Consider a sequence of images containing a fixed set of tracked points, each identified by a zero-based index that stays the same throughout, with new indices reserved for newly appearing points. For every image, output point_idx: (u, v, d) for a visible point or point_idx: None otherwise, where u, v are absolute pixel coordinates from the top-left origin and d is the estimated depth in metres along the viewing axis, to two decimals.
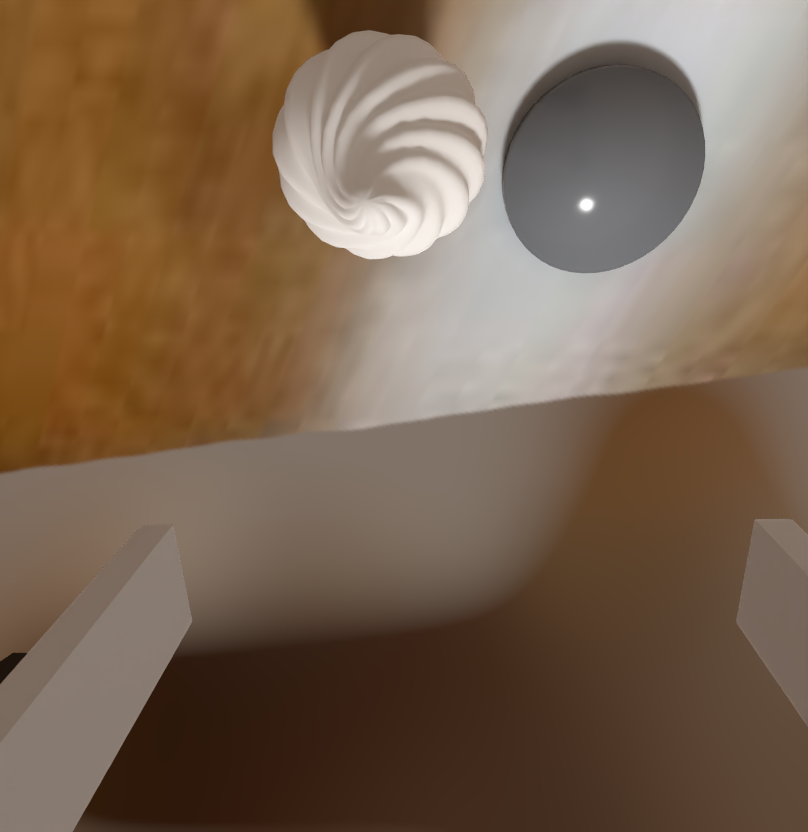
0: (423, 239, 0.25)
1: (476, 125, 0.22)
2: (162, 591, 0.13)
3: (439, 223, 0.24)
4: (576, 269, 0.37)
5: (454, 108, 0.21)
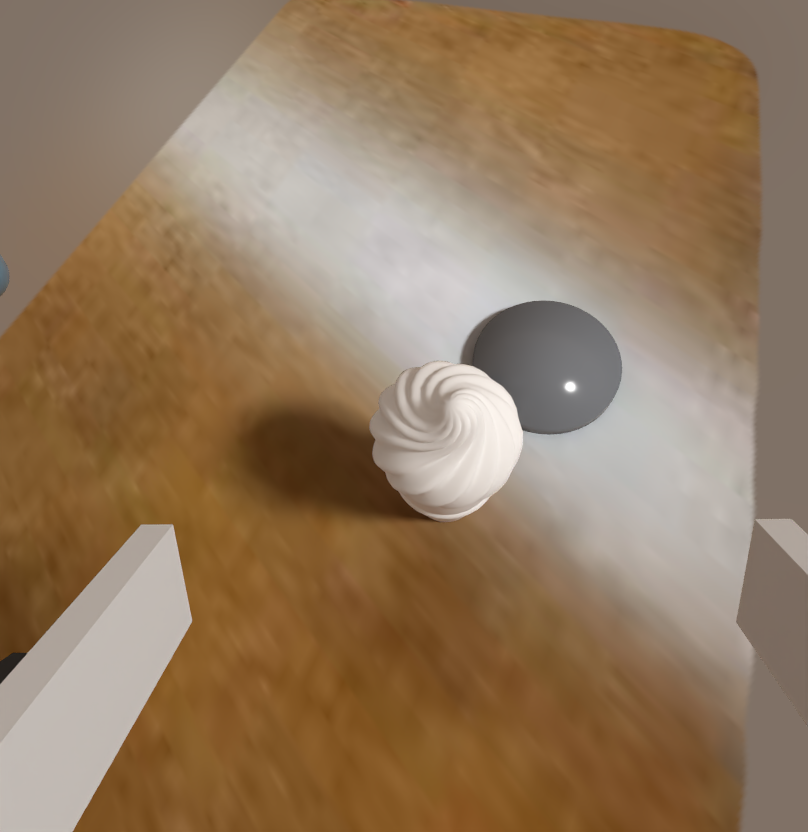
0: (509, 415, 0.32)
1: (448, 364, 0.34)
2: (162, 591, 0.13)
3: (499, 397, 0.32)
4: (613, 391, 0.45)
5: (430, 366, 0.33)
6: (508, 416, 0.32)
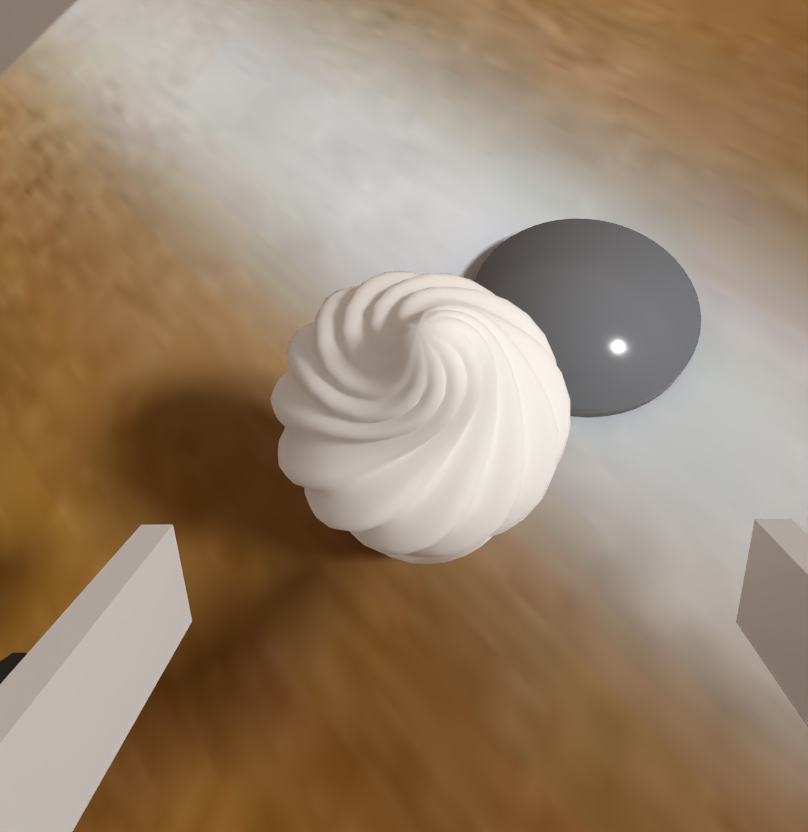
0: (544, 367, 0.16)
1: None
2: (162, 591, 0.13)
3: (523, 332, 0.16)
4: (690, 349, 0.29)
5: (387, 277, 0.17)
6: (543, 369, 0.16)
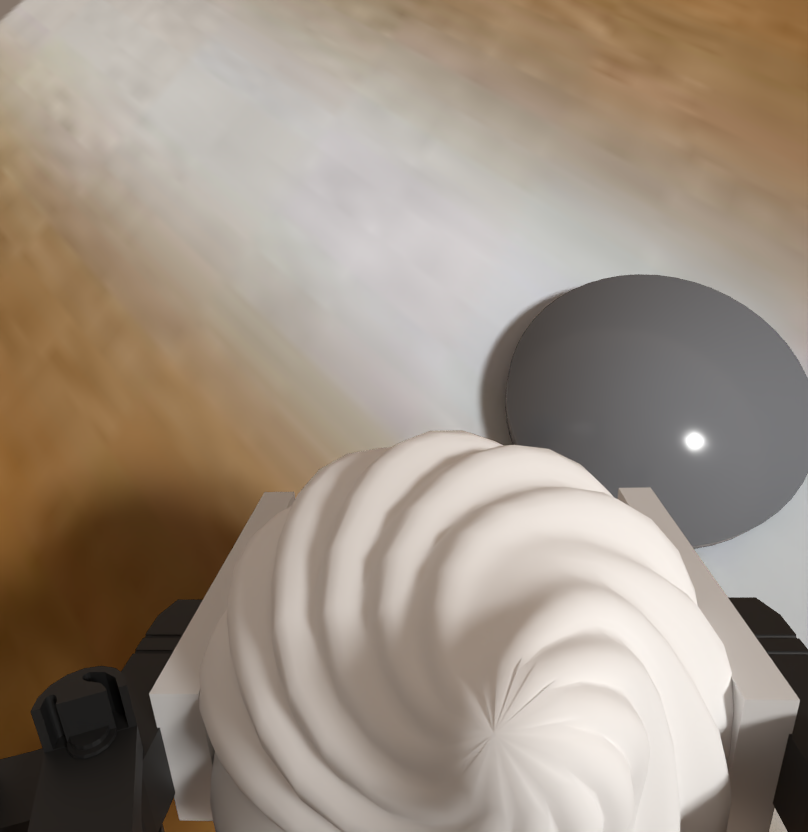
0: (698, 645, 0.09)
1: (467, 443, 0.11)
2: None
3: (660, 580, 0.09)
4: (807, 459, 0.21)
5: (407, 458, 0.10)
6: (696, 650, 0.09)
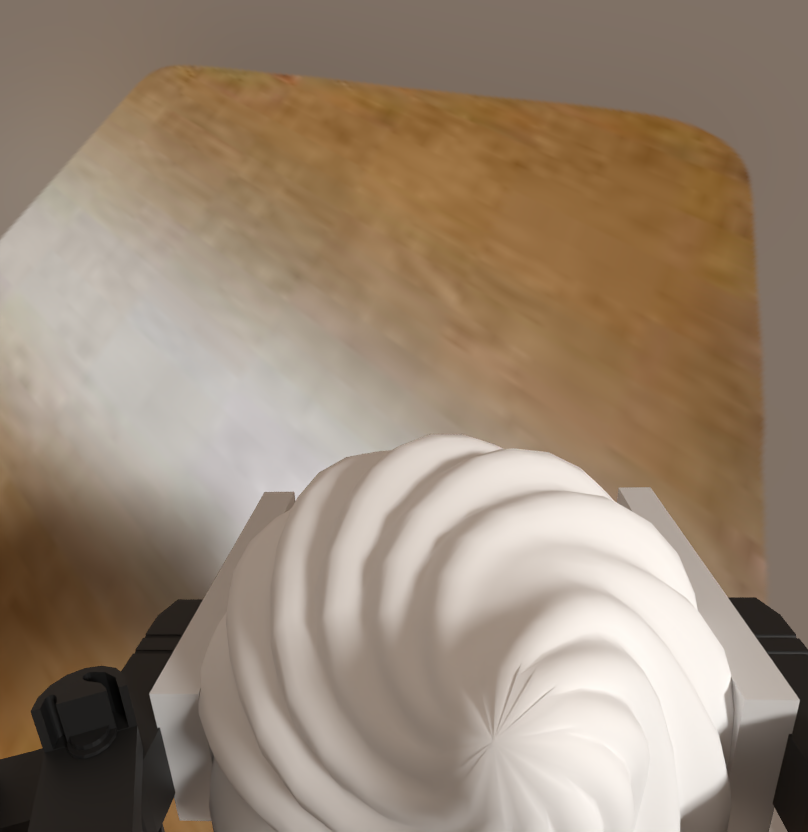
0: (698, 650, 0.09)
1: (466, 446, 0.11)
2: None
3: (660, 584, 0.09)
4: None
5: (406, 462, 0.10)
6: (696, 655, 0.09)
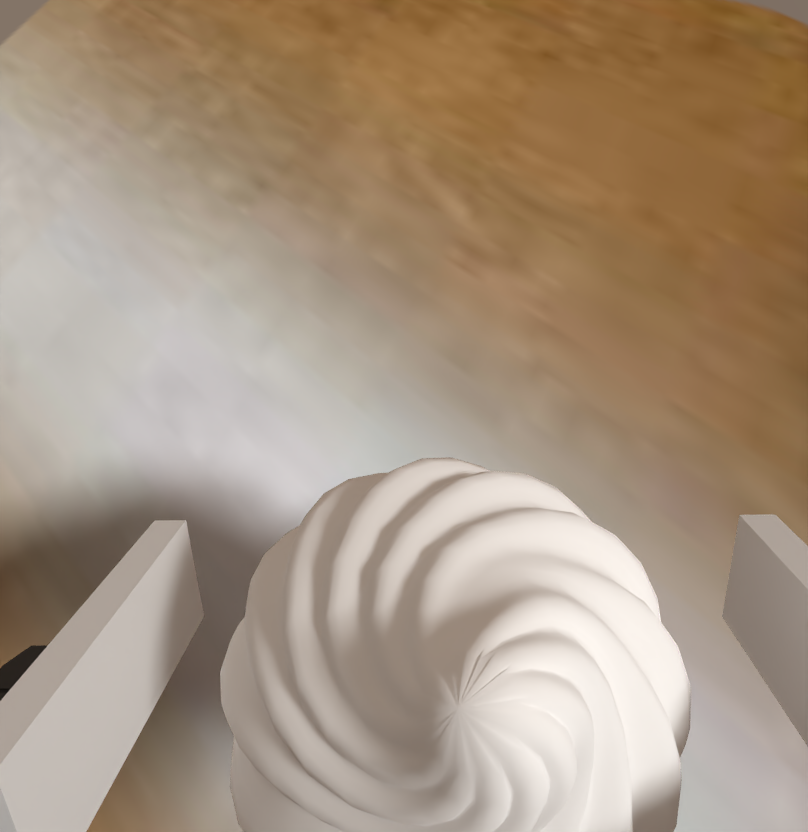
0: (653, 646, 0.10)
1: (454, 469, 0.12)
2: (176, 586, 0.14)
3: (618, 589, 0.10)
4: None
5: (400, 483, 0.11)
6: (651, 650, 0.10)
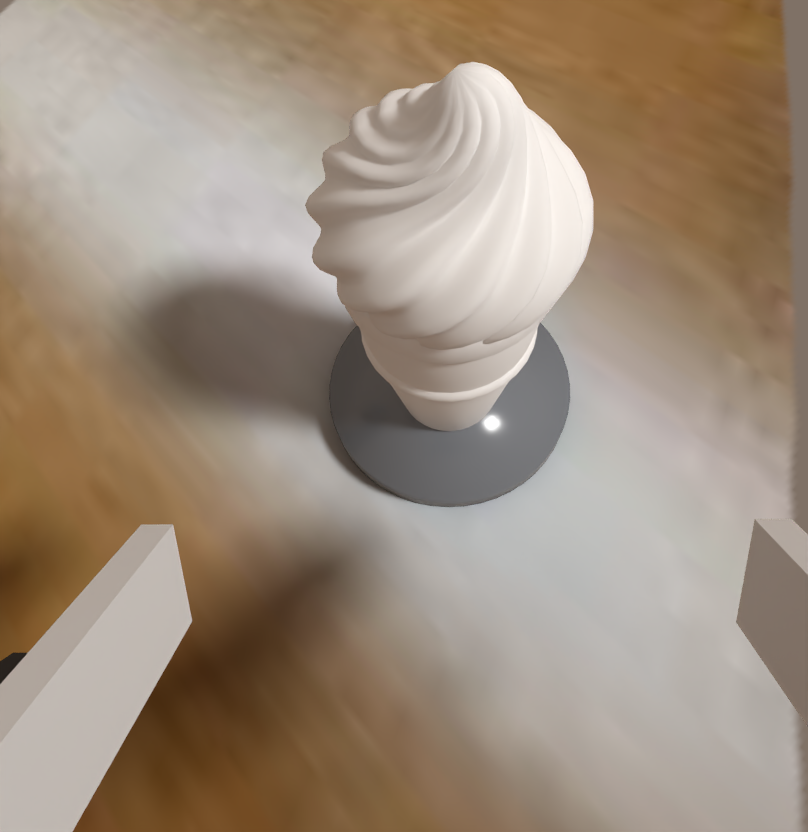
0: (568, 163, 0.17)
1: None
2: (162, 591, 0.13)
3: (549, 130, 0.17)
4: (555, 435, 0.27)
5: None
6: (567, 165, 0.17)
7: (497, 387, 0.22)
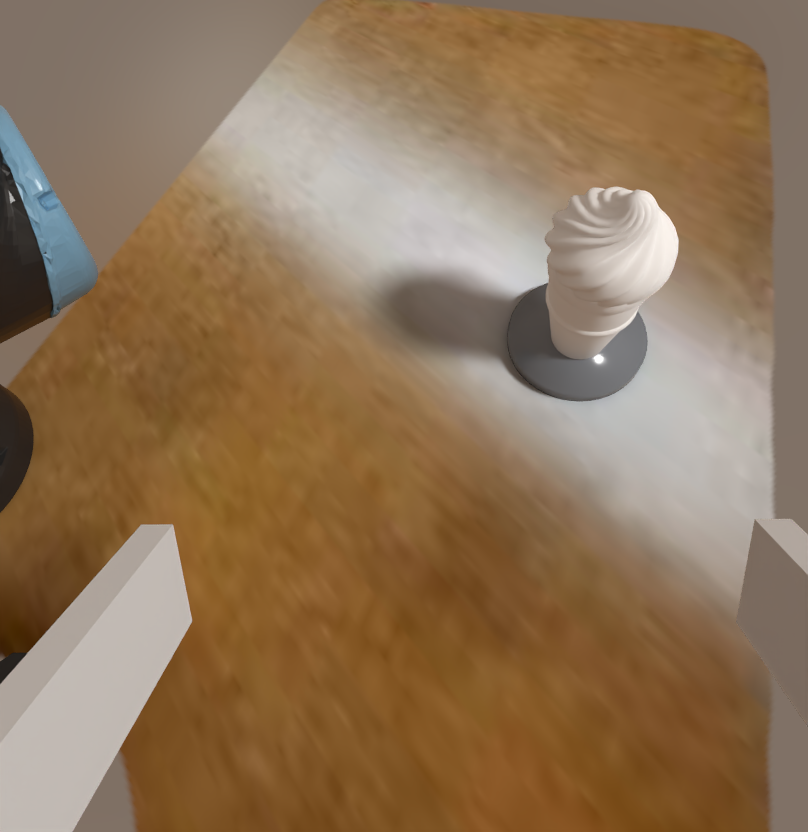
0: (668, 223, 0.38)
1: None
2: (162, 591, 0.13)
3: (660, 209, 0.38)
4: (640, 361, 0.48)
5: (597, 188, 0.39)
6: (668, 224, 0.38)
7: (621, 329, 0.43)
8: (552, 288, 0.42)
